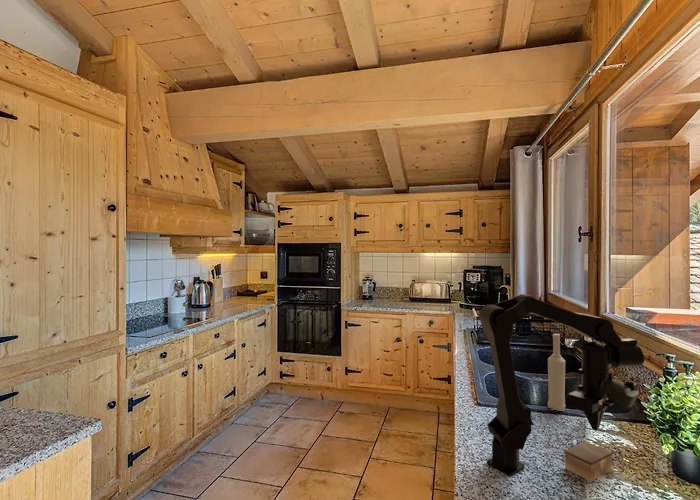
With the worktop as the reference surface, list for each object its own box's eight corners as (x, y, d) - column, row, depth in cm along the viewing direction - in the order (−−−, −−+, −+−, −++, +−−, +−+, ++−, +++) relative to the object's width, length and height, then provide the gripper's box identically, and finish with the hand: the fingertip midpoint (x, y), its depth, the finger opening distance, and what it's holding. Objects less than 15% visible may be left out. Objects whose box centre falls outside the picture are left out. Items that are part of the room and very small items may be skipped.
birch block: (611, 471, 89) (591, 482, 85) (585, 458, 95) (564, 468, 90) (611, 452, 89) (591, 463, 85) (585, 441, 95) (564, 450, 90)
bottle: (544, 406, 125) (544, 333, 126) (555, 404, 127) (555, 332, 127) (557, 413, 121) (557, 336, 121) (569, 410, 122) (569, 335, 122)
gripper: (616, 384, 80) (616, 456, 80) (649, 368, 90) (649, 432, 90) (563, 370, 89) (563, 434, 89) (598, 357, 100) (598, 415, 100)
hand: (595, 429), depth 92 cm, fingers closed
